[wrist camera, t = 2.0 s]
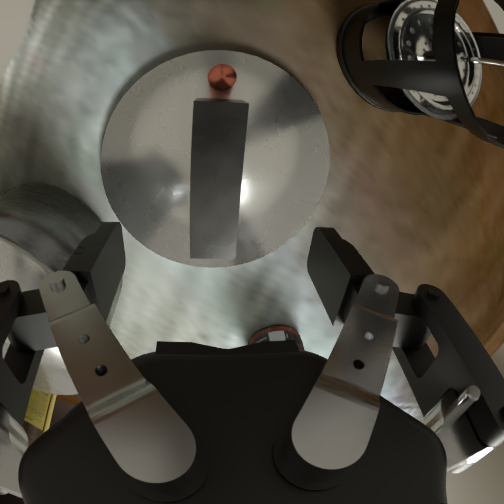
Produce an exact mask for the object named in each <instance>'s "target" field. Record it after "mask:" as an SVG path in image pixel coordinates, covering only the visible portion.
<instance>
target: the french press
mask: <svg viewBox="0 0 504 504" xmlns="http://www.w3.org/2000/svg"><path fill="white" fill-rule="evenodd" d="M494 1H495V2H496V3H497V4H498V5H499V6H500V7H501V8H502V9H503V10H504V0H494ZM458 4H459V0H406V1H404V0H388V1H385V2H382V3H376V4H367V5H365V6H362V7H359V8H357V9H356V10H354V11H353V12H351V13H350V14H349V15H348V16H347V18H346V19H345V20H344V21H343V24H342V26H341V28H340V30H339V34H338V39H337V54H338V59H339V64H340V67H341V69H342V72H343V74H344V76H345V78H346V80H347V81H348V83H349V85H350V86H351V87H352V88H353V90H354V91H355V92H356V93H357V94H358V95H359V96H360V97H361V98H362V99H363V100H365V101H366V102H368V103H369V104H371V105H372V106H374V107H377V108H379V109H382V110H385V111H391V112H403V113H407V114H412V115H427V116H430V117H434V118H437V119H440V120H443V121H446V122H449V123H452V124H455V125H458V126H461V127H464V128H466V129H468V130H469V131H470V132H471V133H472V134H473V135H475V136H477V137H478V138H480V139H482V140H484V141H486V142H489V143H491V144H493V145H496V146H498V147H501V148H504V126H501V125H499V124H496V123H493V122H490V121H488V120H485V119H482V118H479V117H476V116H475V115H474V112H473V110H472V108H471V107H472V105H473V103H474V102H475V100H476V98H477V96H478V93H479V90H480V86H481V80H482V65H481V64H485V65H492V66H498V67H503V68H504V34H499V33H482V32H471V31H470V29H469V27H468V26H467V24H466V23H465V22H464V20H463V19H462V18H461V17H460V16H459V15H458V14H457V13H456V10H457V7H458ZM381 17H382V18H390V21H389V23H388V26H387V32H386V45H385V47H386V56H387V60H372V61H364V58H363V52H362V35H363V30H364V26H365V24H366V23H367V22H369V21H370V20H372V19H375V18H381ZM375 85H378V86H386V87H394V88H400V89H401V91H402V92H403V93H404V95H405V96H401V97H392V96H388V95H386V94H383V93H381V92H380V91H379V90H378V89H377V87H376V86H375Z"/></svg>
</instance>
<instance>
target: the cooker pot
mask: <svg viewBox="0 0 504 504" xmlns="http://www.w3.org/2000/svg"><path fill="white" fill-rule="evenodd" d="M101 223H102V222H101V221H100V219H99V218H98V217H97V216H96V215H95V214H94V213H93V212H92V211H91V210H90V209H89V208H88V207H87V206H86V205H85V204H84V203H82V202H81V201H80V200H79V199H77V198H76V197H74V196H73V195H71V194H69V193H68V192H65V191H63V190H61V189H59V188H56V187H53V186H50V185H45V184H25V185H20V186H18V187H15V188H13V189H11V190H10V191H8V192H7V193H5V194H4V195H3V196H1V197H0V282H3V281H6V280H15V281H17V282H18V283H19V285H20V288H21V290H22V292H23V291H29V290H34V289H39V285H40V283H41V281H42V280H43V279H44V278H45V277H46V276H47V275H49V274H51V273H53V272H57V271H62V270H63V268H64V266H65V265H66V263H67V262H68V260H69V259H70V257H71V256H72V254H73V252H74V251H75V249H77V246H78V245H79V244H80V242H81V241H82V240H83V239H84V238H85V237H87V236H88V235H90V234H94V233H95V232H96V230H97V229H98V227H99V226H100V225H101ZM122 277H123V275H122ZM121 288H122V278H121V281H120V283H119V286H118V289H117V292H116V294H115V297H114V300H113V303H112V306H111V309H110V312H109V315H108V318H107V321H106V323H107V325H108V326H109V328H110V324H111V321H112V318H113V314H114V311H115V308H116V305H117V302H118V299H119V295H120V292H121ZM9 345H10V341H9V339H8V337H7V339H6V341H5V343H4V345H3V350H2V354H3V359H4V357H5V354H6V352H7V349H8V347H9ZM32 389H35V390H38V391H41V392H45V393H50V394H57V395H75V396H76V397H77V398H79V399H80V400H81V398H80V396H79V394H78V392H77V390H76V388H75V386H74V384H73V382H72V379H71V377H70V375H69V373H68V371H67V368H66V366H65V364H64V361H63V359H62V357H61V354H60V352H59V349H58V347H55V348H48V349H45V350H44V353H43V356H42V359H41V362H40V365H39V368H38V371H37V374H36V378H35V381H34V385H33V388H32Z"/></svg>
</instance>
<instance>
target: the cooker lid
mask: <svg viewBox="0 0 504 504" xmlns="http://www.w3.org/2000/svg"><path fill="white" fill-rule="evenodd" d="M329 164H330V148H329V141H328V135H327V131H326V128H325V124H324V121H323V118H322V116H321V114H320V112H319V110H318V108H317V106H316V104H315V103H314V101H313V100H312V98H311V97H310V95H309V94H308V93H307V91H306V90H305V89H304V88H303V87H302V86H301V85H300V83H299V82H298V81H296V80H295V79H294V78H293V77H292V76H291V75H289V74H288V73H287V72H286V71H284V70H282V69H281V68H279V67H278V66H276V65H274V64H273V63H271V62H268V61H266V60H264V59H262V58H259V57H257V56H253V55H250V54H246V53H242V52H236V51H228V50H206V51H199V52H193V53H189V54H185V55H182V56H179V57H176V58H173V59H171V60H169V61H167V62H164V63H162V64H160V65H158V66H157V67H155V68H154V69H152V70H151V71H149V72H148V73H146V74H145V75H144V76H142V77H141V78H140V79H139V80H138V81H137V82H136V83H134V84H133V85H132V86H131V88H130V89H129V90H128V91H127V92H126V93H125V95H124V96H123V97H122V98H121V100H120V101H119V103H118V105H117V106H116V108H115V109H114V111H113V113H112V115H111V118H110V120H109V122H108V124H107V127H106V131H105V134H104V138H103V143H102V150H101V173H102V180H103V185H104V189H105V192H106V195H107V198H108V200H109V203H110V205H111V207H112V209H113V211H114V213H115V214H116V216H117V218H118V219H119V221H120V222H121V223H122V225H123V226H124V227H125V228H126V230H127V231H128V232H129V233H130V234H131V235H132V236H133V237H134V238H135V239H136V240H138V241H139V242H140V243H141V244H143V245H144V246H145V247H147V248H148V249H150V250H152V251H153V252H155V253H157V254H159V255H160V256H163V257H165V258H167V259H170V260H172V261H176V262H179V263H182V264H186V265H192V266H197V267H227V266H234V265H239V264H243V263H246V262H250V261H253V260H255V259H258V258H261V257H263V256H265V255H267V254H269V253H271V252H273V251H275V250H276V249H278V248H279V247H281V246H282V245H284V244H285V243H286V242H287V241H289V240H290V239H291V238H292V237H293V236H295V235H296V234H297V233H298V232H299V230H300V229H301V228H302V227H303V226H304V225H305V224H306V223H307V221H308V220H309V218H310V217H311V216H312V214H313V213H314V211H315V209H316V207H317V206H318V204H319V202H320V199H321V197H322V195H323V192H324V190H325V186H326V182H327V178H328V173H329Z"/></svg>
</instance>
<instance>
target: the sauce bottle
mask: <svg viewBox="0 0 504 504" xmlns="http://www.w3.org/2000/svg"><path fill="white" fill-rule="evenodd" d="M56 395H57V394H50V393H45V392H41V391H38V390H35V389H32V392H31V395H30V399H29V403H28V407H27V411H26V415H25V420H24V424H23V428H24V430H25V432H26V434H27V437H28V447H29V446H30V445H31V444H32V443H33V442H34V441H35V440H36V439H37V438H38V437H40V436H41V435H42V434H43V433H44V432H45V431H47V430H48V429H49V425H50V420H51V416H52V412H53V408H54V403H55V399H56Z"/></svg>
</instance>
